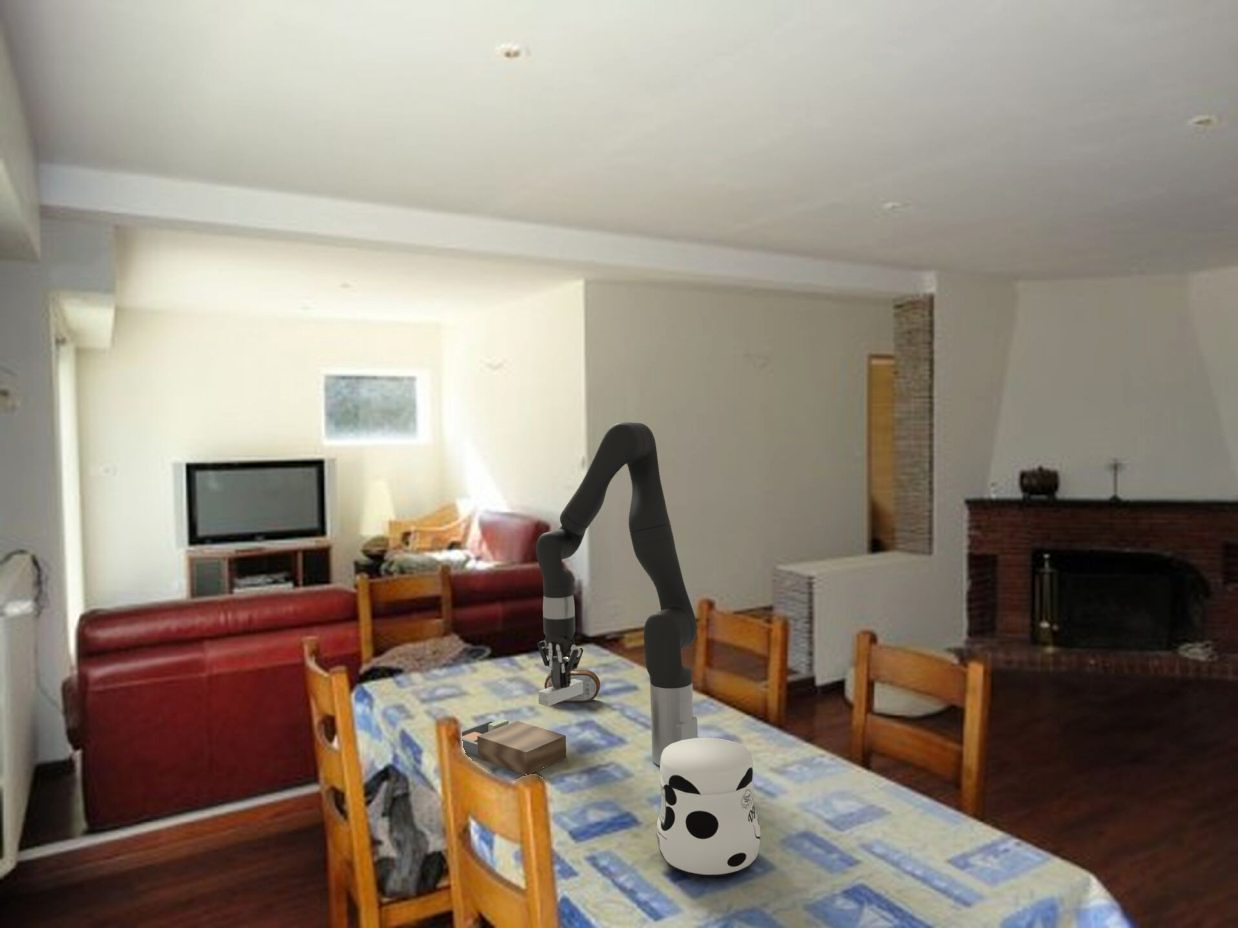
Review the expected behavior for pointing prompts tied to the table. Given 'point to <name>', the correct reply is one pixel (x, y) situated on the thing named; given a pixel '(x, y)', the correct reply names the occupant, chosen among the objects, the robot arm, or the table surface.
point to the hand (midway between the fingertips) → (561, 685)
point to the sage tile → (497, 724)
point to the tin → (589, 685)
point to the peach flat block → (472, 736)
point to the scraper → (559, 688)
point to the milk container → (707, 807)
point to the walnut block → (521, 747)
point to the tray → (470, 745)
